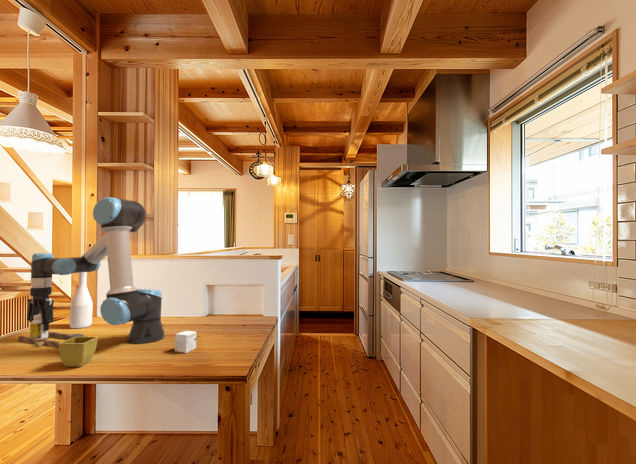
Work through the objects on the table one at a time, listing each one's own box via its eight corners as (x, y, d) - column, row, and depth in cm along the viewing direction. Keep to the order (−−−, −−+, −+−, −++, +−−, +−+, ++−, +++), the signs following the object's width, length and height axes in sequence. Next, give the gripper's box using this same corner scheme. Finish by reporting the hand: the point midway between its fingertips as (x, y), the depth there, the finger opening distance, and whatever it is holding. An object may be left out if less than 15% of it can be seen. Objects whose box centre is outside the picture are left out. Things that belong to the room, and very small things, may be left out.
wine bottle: (83, 329, 164) (85, 270, 165) (64, 328, 164) (67, 270, 165) (96, 324, 174) (98, 269, 175) (78, 324, 174) (81, 268, 175)
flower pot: (73, 360, 122) (74, 336, 122) (97, 359, 122) (98, 336, 123) (56, 369, 113) (57, 343, 113) (82, 368, 114) (83, 343, 114)
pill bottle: (37, 341, 143) (38, 316, 144) (26, 340, 145) (27, 315, 145) (51, 337, 149) (52, 313, 150) (40, 336, 151) (41, 313, 151)
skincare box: (186, 353, 131) (186, 335, 131) (174, 351, 133) (174, 333, 133) (196, 349, 136) (196, 331, 137) (185, 347, 138) (185, 330, 139)
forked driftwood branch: (98, 340, 146) (98, 331, 146) (63, 350, 132) (63, 341, 132) (49, 333, 156) (49, 325, 156) (11, 342, 141) (12, 333, 141)
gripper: (64, 286, 148) (62, 336, 148) (36, 284, 154) (34, 332, 153) (46, 288, 141) (44, 341, 141) (17, 286, 147) (15, 337, 146)
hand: (39, 336), depth 147 cm, fingers closed on pill bottle, 6 cm apart
